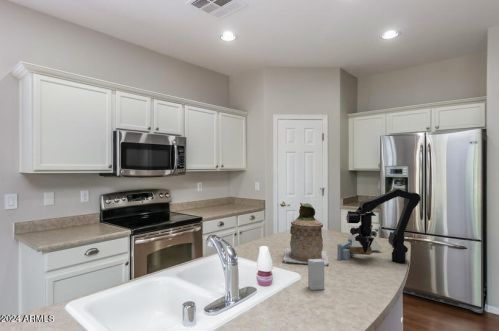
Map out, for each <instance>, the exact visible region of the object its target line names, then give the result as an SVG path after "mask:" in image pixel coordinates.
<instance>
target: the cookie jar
mask: <svg viewBox="0 0 499 331" xmlns="http://www.w3.org/2000/svg"><path fill="white" fill-rule="evenodd" d="M299 204H300V206H299V209H298V212H299V216H297V217H296V218H295V219H294V220H293V219H292V220H291V221H290V229H289V230H290V242H289V247H286V249H285V251H284V252H285V253H284V256H283V258H282V259H283V261H284V264H287V263H293V264H294V263H295V264H306V265H308V259H322V260H323V261H324V267H327V266H328V265H329V263H330V262H329V257H328V256H329V255H328V253H327V251H326V250H323V248H324V243H323V242H324V241H323V240H324V239H323V234H322V231H323V230H322V229H323V227H324V223H322V222H321V221H320V220H319V219H317V218H316V217H315V215H316V209H315V208H314V207H313V205H312V204H311V203H308V202H307V203H302V202H301V201H300V203H299Z"/></svg>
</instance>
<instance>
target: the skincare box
mask: <svg viewBox="0 0 499 331" xmlns="http://www.w3.org/2000/svg"><path fill="white" fill-rule="evenodd" d="M307 268H308V269H307V270H308V271H307V274H308V277H307V278H308V280H307V281H308V282H307V284H308V289H310V291H314V290H315V291H316V290H319V291H320V290H325V266H324V261H323V260H322V259H308V264H307Z"/></svg>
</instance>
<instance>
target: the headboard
mask: <svg viewBox="0 0 499 331" xmlns="http://www.w3.org/2000/svg"><path fill="white" fill-rule="evenodd" d="M336 245H337V260H339V261H341V260H345V261H348V260H350V259H351V257H355V256H356V255H357V254H350V250H349V249H346V247H348V246H352V239H351V238H348V239H347V242H345V243H343V244H341V243H338V244H336ZM355 247H356V246H355Z"/></svg>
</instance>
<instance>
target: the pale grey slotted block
mask: <svg viewBox="0 0 499 331" xmlns="http://www.w3.org/2000/svg"><path fill="white" fill-rule="evenodd" d="M356 236H357V235H356V234H354V235H352V234H351V235H347V238H348V239H349V238H351V239H352V246H356V247H362V244H361V242H360V241H355V237H356ZM372 238H374V240H373V242H372V244H371V246H370V247H371V249H372V251H377V250H378V251H379V250H383V248H382V247H381V246H380V244H379V243H378V241H377V240H376V237H374V236H372Z"/></svg>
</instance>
